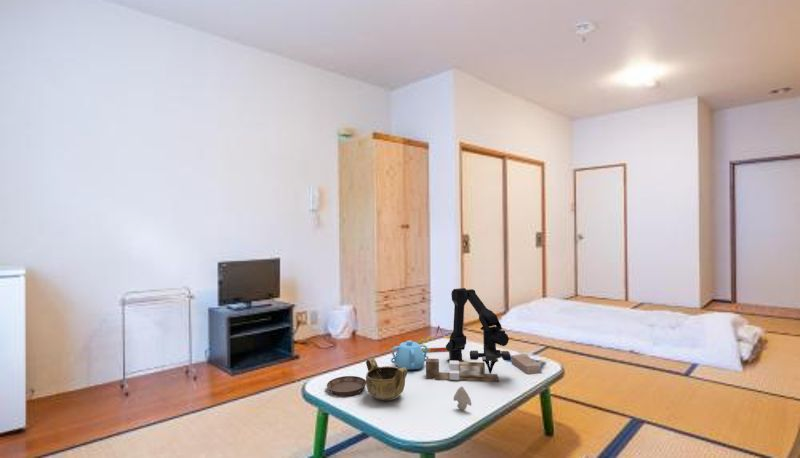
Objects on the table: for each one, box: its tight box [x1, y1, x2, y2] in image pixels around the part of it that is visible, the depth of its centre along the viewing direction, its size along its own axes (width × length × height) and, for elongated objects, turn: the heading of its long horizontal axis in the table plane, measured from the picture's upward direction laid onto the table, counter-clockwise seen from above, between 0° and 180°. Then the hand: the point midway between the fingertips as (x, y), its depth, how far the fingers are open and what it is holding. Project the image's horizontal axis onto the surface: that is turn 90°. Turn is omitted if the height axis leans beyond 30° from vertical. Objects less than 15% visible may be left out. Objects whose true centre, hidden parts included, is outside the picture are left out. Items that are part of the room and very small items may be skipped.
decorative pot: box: [390, 340, 429, 371], centre depth 220 cm, size 16×16×14 cm
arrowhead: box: [453, 385, 472, 411], centre depth 169 cm, size 8×3×10 cm, turn 54°
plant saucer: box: [326, 375, 366, 397], centre depth 192 cm, size 18×18×3 cm
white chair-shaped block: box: [449, 361, 459, 381], centre depth 204 cm, size 4×9×6 cm, turn 173°
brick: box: [511, 354, 543, 375], centre depth 216 cm, size 17×8×5 cm, turn 12°
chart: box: [417, 325, 450, 354], centre depth 245 cm, size 30×3×15 cm, turn 96°
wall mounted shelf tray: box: [459, 361, 486, 377], centre depth 203 cm, size 12×4×6 cm, turn 83°
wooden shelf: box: [425, 357, 500, 383], centre depth 204 cm, size 34×8×8 cm, turn 83°
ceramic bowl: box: [365, 357, 408, 402], centre depth 182 cm, size 22×17×15 cm
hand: (490, 373), depth 202 cm, fingers closed
